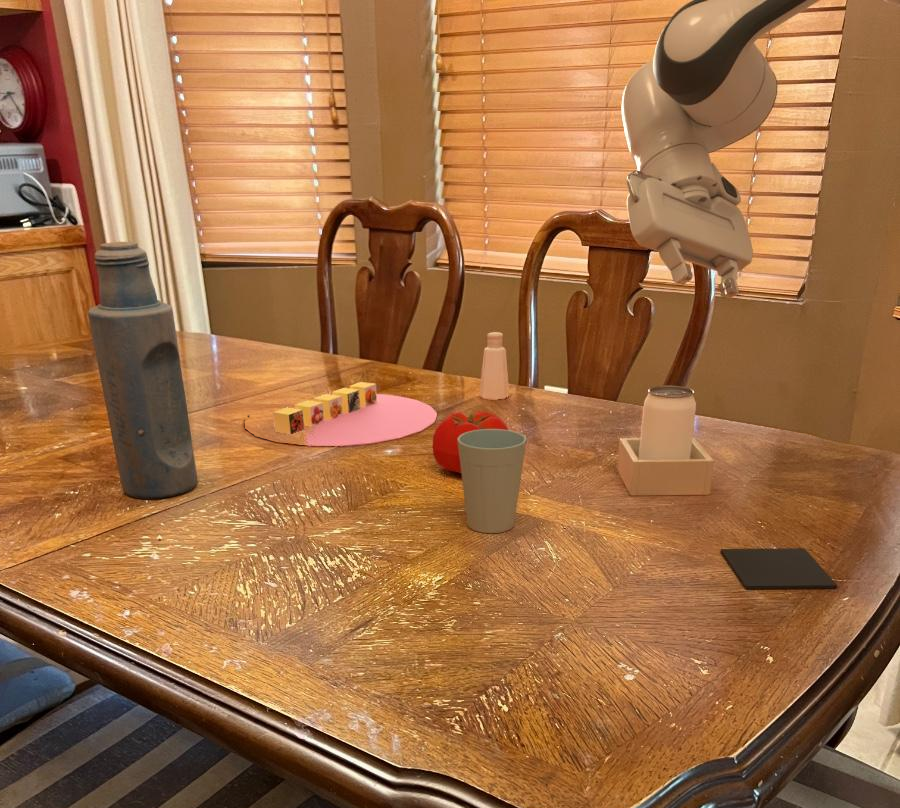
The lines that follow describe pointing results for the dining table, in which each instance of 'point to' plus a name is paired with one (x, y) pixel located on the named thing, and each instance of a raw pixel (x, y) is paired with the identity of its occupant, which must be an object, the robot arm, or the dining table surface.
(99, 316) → the bottle
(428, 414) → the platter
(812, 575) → the mat
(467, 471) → the cup
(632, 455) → the caddy
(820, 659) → the dining table surface
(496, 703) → the dining table surface
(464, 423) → the tomato
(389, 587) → the dining table surface
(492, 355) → the salt shaker
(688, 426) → the can
